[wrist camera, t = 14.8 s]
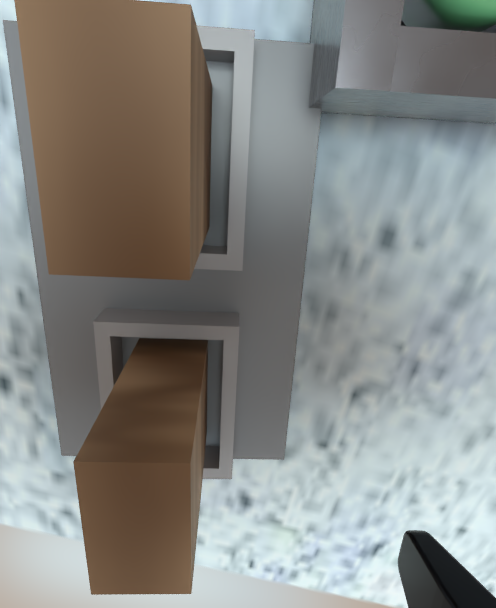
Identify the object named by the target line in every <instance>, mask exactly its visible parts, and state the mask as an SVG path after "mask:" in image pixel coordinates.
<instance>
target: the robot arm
mask: <svg viewBox="0 0 496 608" xmlns="http://www.w3.org/2000/svg"><path fill="white" fill-rule="evenodd" d="M398 568H399V573H400V577H401V581H402V585H403V588H404V592H405V596H406V600H407V604H408V608H496V598H495V597H494V596H493V595H492V594H491V593H490V592H489V591H488V590H487V589H486V588H485V587H484V586H483V585H482V584H481V583H480V582H479V581H478V580H477V579H476V578H475V577H474V576H473V575H472V574H471V573H469V572H468V571H467V570H466V569H465V568H464V567H463V566H462V565H461V564H460V563H459V562H458V561H457V560H456V559H455V558H454V557H453V556H452V555H451V554H450V553H449V552H448V551H447V550H446V549H445V548H444V547H443V546H442V545H441V544H440V543H439V542H438V541H436V540H435V539H434V538H433V537H432V536H431V535H430V534H429V533H427V532H426V531H418V530H409V531H406V532H405V534H404V536H403V540H402V544H401V548H400V553H399V557H398Z"/></svg>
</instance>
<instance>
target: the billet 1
mask: <svg viewBox="0 0 496 608" xmlns="http://www.w3.org/2000/svg"><path fill="white" fill-rule="evenodd" d="M15 8H16V16H17V24H18V32H19V40H20V48H21V56H22V64H23V72H24V80H25V88H26V96H27V104H28V112H29V120H30V128H31V136H32V144H33V152H34V160H35V168H36V176H37V184H38V192H39V200H40V208H41V216H42V224H43V232H44V241H45V249H46V257H47V265H48V273H49V275H73V276H96V277H120V278H144V279H168V280H190V279H191V276H192V273H193V270H194V268H195V265H196V262H197V260H198V257H199V254H200V251H201V249H202V246H203V243H204V240H205V238H206V235H207V232H208V230H209V227H210V179H211V131H212V82H211V78H210V74H209V71H208V67H207V63H206V60H205V56H204V52H203V48H202V45H201V41H200V37H199V33H198V30H197V26H196V22H195V18H194V15H193V11H192V7H191V5H187V4H175V3H162V2H149V1H137V0H15Z"/></svg>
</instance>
